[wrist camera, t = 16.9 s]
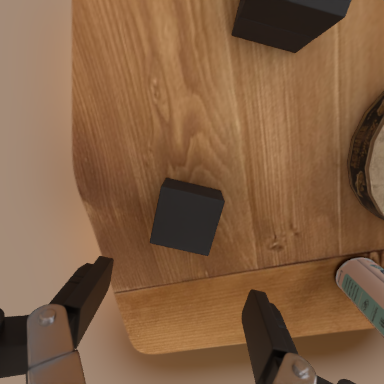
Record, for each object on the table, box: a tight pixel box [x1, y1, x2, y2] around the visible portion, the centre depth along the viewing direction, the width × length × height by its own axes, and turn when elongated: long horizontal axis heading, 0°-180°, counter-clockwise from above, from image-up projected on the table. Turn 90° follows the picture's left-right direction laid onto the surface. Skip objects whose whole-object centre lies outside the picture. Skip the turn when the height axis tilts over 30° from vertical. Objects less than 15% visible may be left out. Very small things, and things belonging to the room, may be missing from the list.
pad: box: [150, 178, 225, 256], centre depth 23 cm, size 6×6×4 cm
